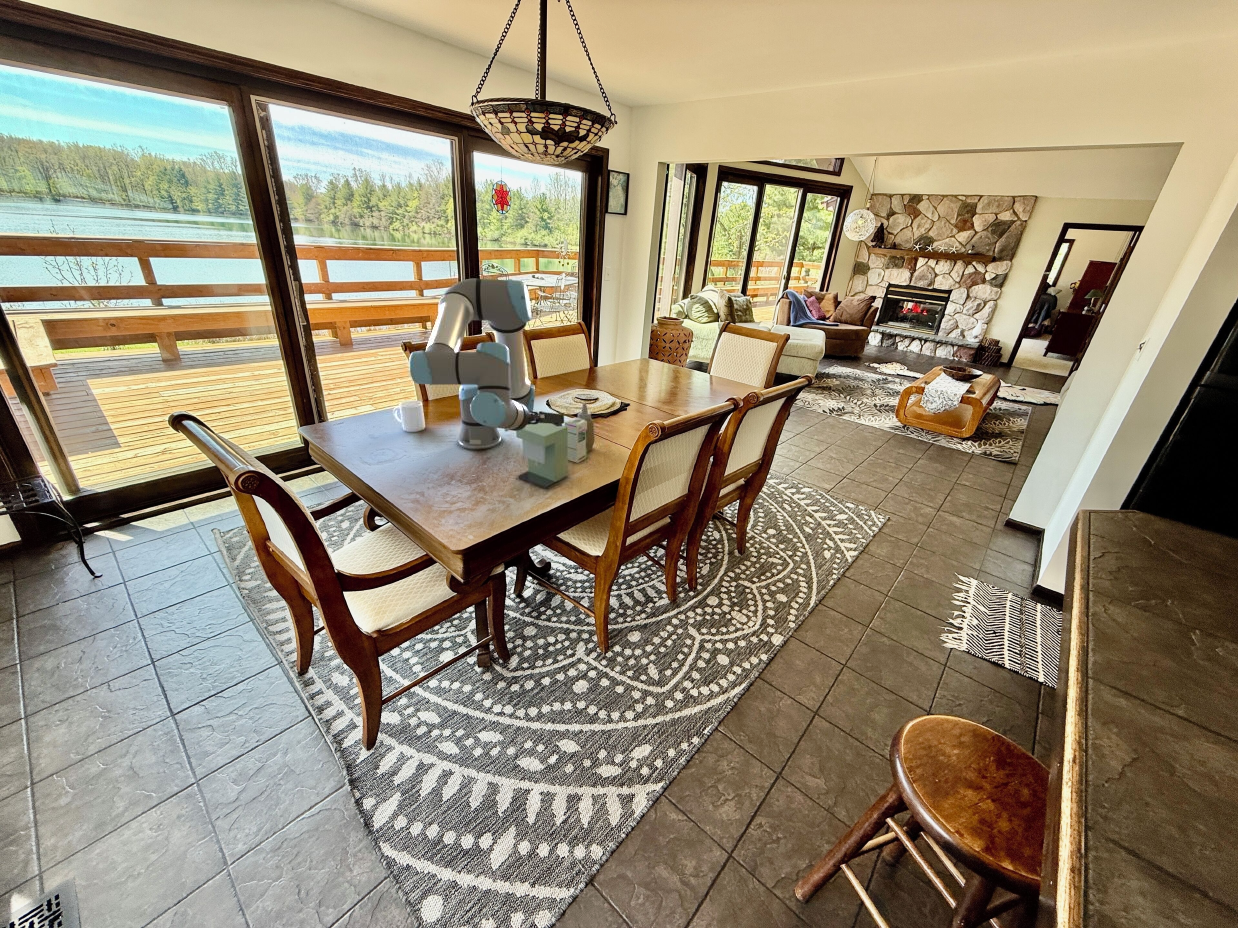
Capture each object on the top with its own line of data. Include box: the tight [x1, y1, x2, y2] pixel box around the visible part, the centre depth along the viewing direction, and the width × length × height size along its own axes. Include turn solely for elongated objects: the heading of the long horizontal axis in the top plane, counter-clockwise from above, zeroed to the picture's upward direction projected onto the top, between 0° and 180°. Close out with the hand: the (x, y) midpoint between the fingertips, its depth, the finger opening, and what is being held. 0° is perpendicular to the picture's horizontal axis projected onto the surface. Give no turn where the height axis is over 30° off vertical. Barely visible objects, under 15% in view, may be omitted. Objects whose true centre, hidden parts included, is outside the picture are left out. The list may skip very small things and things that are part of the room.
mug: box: [392, 400, 426, 433], centre depth 188 cm, size 12×8×10 cm
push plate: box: [521, 439, 546, 464], centre depth 149 cm, size 1×9×6 cm, turn 56°
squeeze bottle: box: [577, 402, 596, 453], centre depth 175 cm, size 8×8×18 cm
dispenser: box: [515, 421, 569, 490], centre depth 153 cm, size 10×12×18 cm
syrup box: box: [564, 416, 588, 464], centre depth 169 cm, size 6×6×14 cm
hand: (538, 422), depth 143 cm, fingers open, 13 cm apart
